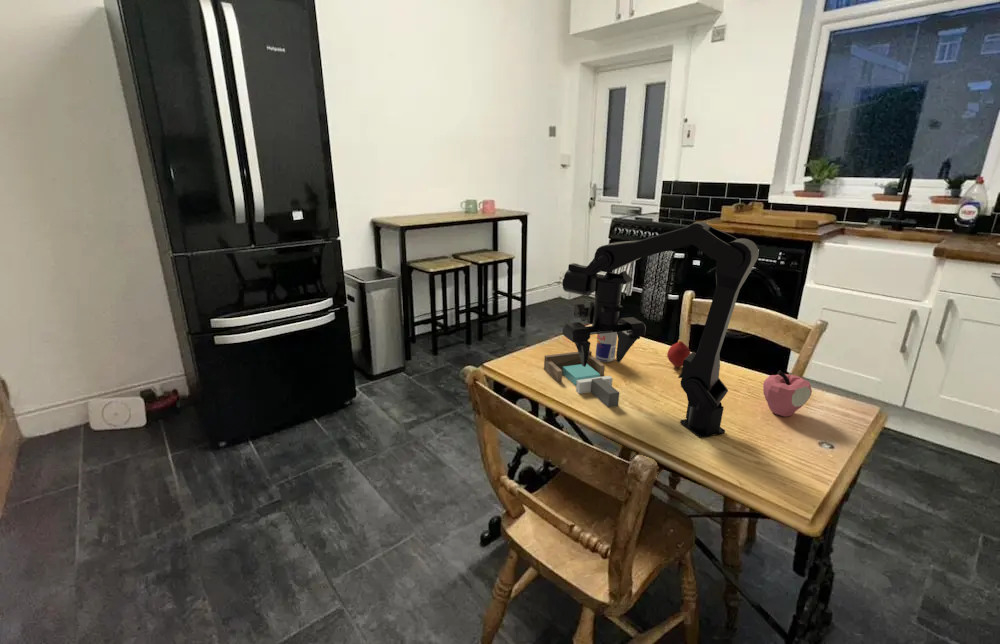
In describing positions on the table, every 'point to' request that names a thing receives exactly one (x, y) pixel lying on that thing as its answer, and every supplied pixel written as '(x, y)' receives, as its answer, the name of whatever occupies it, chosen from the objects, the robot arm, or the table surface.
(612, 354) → the energy drink
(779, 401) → the apple
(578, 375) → the tile
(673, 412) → the table surface
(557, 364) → the tile bay
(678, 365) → the onion
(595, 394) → the pusher
